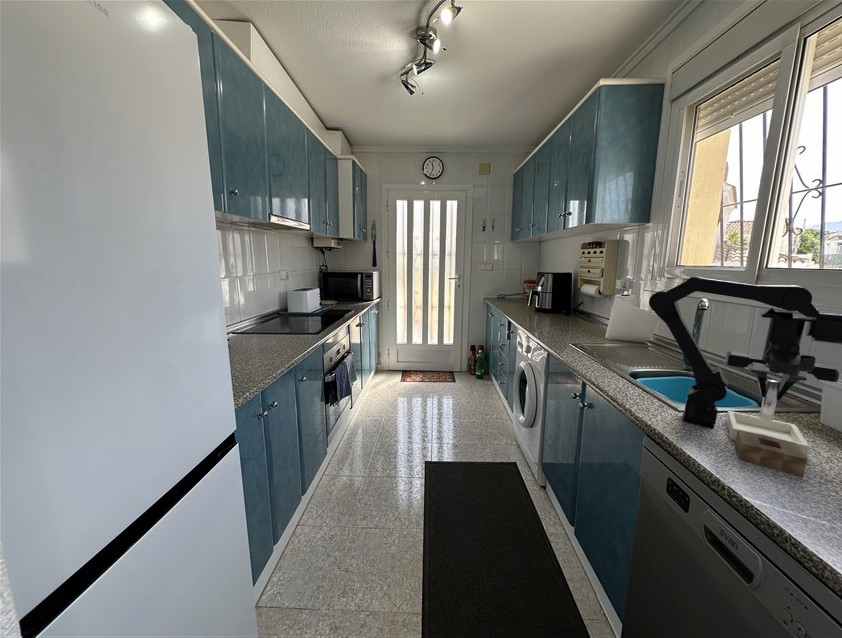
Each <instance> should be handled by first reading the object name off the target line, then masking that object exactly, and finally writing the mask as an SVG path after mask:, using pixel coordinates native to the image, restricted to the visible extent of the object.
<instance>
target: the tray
mask: <svg viewBox="0 0 842 638" xmlns="http://www.w3.org/2000/svg"><path fill="white" fill-rule="evenodd" d="M725 421H726V425H727V429H728V433H729V437H730V440H732V441H736V436H737V431H738V429H739V430H743V431H747V432H752V433H756V434H760V435H764V436H769V437H773V438H777V439H782V440H786V441H790V442H794V443H798V445H799V447H800V448H801V450H802V452H803V453H804V455H805V457H806V458H807V459H808V455H809V454H808V453H809V450H810V445H809V443H808V442H807V440H806V439H805V437H804V436H803V434H802V433H801V431H800V430H799V428H798V427H797V425H796V424H793V423H788V422H786V421H779V420H775V419H773V420H772V421H767V420H763V419H761V418H759V416H756V415H751V414H747V413H742V412H737V411H731V410H727V415H726V420H725Z"/></svg>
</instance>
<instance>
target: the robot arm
mask: <svg viewBox="0 0 842 638" xmlns="http://www.w3.org/2000/svg"><path fill="white" fill-rule="evenodd" d="M695 292H699V293H705V294H712V295H718V296H724V297H729V298H730V297H731V298H738V299H745V300H750V301H754V302H759V303H762V304H765V305H768V306H771V307H769V308H768V309H767V310H765V311H763V312H760V314H759V315H760V316H761V318H763V319H764V318H766V319H767V318H768V319H770V320H769V325H768V328H767V329H768V330H767V335H766V339H765V343H764V347H763V351H762V356H761V358H756V357H750V355H749V354H748V353H747V352H739V351H732V350H731V351H730V350H729V351H728V352H726V355H725V362H726V363H725V364H726V365H727V366H729V367H735V368H740V369H741V368H742V369H745V368H746V367H747V368H748V370H749V372H750V373H754V374H755V377H756V380H757V384H758V388H759V392H760V397H761V398H763V397H764V396H765V391H766V383H767V377H768V372H771V373H773V374H777V375H778V374H781V375H782V376H781V380H780V382H781V384H780V389H779V393H778V398H777V401H780V400H781V399H782V398H784V396H785V394H787V392H788V391H789V390H790V388H792V387H793V386H794V385H795V384H797V383H798V382H800V381H802V382H806V381H808V378H807V377H806V376H807V375H812V376H813V377H814V378H816V379H817V380H819V381H825V382H831V383H838V382H839V377H840V371H838V369H836V368H835V367H834V366H832V365H831V364H826V363H820V362H819V363H818V362H816V356H815V355H814V356H813V355H806V354H800V353H801V352H800V349H801V348H800V347H801V341H802V337H803V333H804V328H806V331H805V336H806V337H811V341H812V342H819V343H827V344H835V345H842V314H836V313H826V312H825V313H824V312H820V309H817V308H816V307H815V305H813V303H812V301H813V295H812V292H810V291H809V289H807V288H805V287H802V286H800V285H797V284H796V285H793V284H790V285H789V284H773V285H771V284H749V283H742V282H736V281H729V280H728V281H727V280H719V279H714V278H713V279H712V278H705V277H701V276H698V275H697V276H696V275H695V276H691V277H689V278H687V280H685V281H684V282H682V283H680V284H678V285H676V286H673V287H672V288H671V289H669V290H667V289H666V290H663V289H662V290H659V291H657V292H656V291H655V292H654V293H653V294H652V295H651V296H650V297H649V300H648V304H649V307H650V308H651V310H652V311H653V312H654V313H655V315H656V316H657V317H658V318H660V320H662V321H663V322H664V324H665V325H666V327H667V328H668V329H669V331H670V333H671V335H672V336H673V338H674V339H675V342H676V343H677V346H678V347H679V349H680V350H681V352H682V355H683V356H684V357H685V359H686V361H687V362H688V364H689V366H690V367H691V371H692V373H693V378H694V381H695V384H693V385H691V386H690V387H689V389H688V392H687V395H686V397H685V404H684V410H683V413H682V423H683V422H684V423H687V424H692V425H695V426H701V427H704V428H708V429H714V425H716V423H717V416H718V411H719V410H718V408H717V404H716V402H719V401H722V400H724V399H725V398H726V396H727V393H728V387H729V379H728V378H727V377H726V376H725V375H724V373H723V370H722V368H721V366H718V367H714V366H712V365H711V364H710V363H709V362H708V360H707V358H706V356H705V355H704V352H703V351H702V350H701V347H700V346H699V345H698V343H697V341H696V339H695V338H694V335H693V334H692V332H691V331H690V329H689V327H688V326H687V324H686V322H685V320H684V319H683V317H682V313H681V308H680V306H679V305H680V304H679V302H678V301H679V300H682V299H684V298H686V297H688V296H689V295H691V294H693V293H695ZM773 307H774V308H778V309H781V310H784V311H777V310H775V309H774V308H773ZM794 312H798V313H799V314H801V315H803V316H804V317H803V316H802V317H800V316H794ZM806 322H807V325H806ZM805 325H806V327H805ZM766 369H768V372H767V370H766Z"/></svg>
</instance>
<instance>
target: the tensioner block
mask: <svg viewBox="0 0 842 638" xmlns="http://www.w3.org/2000/svg"><path fill="white" fill-rule="evenodd" d="M734 441H735V440H734ZM734 446H735V449H736V454H737V457H738V460H740V461H743V462H747V463H751V464H755V465H758V466H762V467H766V468H770V469H773V470H776V471H780V472H785V473H788V474H791V475H796V476H799V477H802V478H803V477H804V475H805V471H806V466H807V462H808V457H807V458H806V457H805V455H804V453H803V452H802V450H801V448H800V447H799V445H798V443H794V442H790V441H786V440H782V439H777V438H773V437H769V436H764V435H760V434H756V433H752V432H747V431H743V430H739V429H738V431H737V436H736V441H735V442H734Z"/></svg>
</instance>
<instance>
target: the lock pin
mask: <svg viewBox="0 0 842 638" xmlns="http://www.w3.org/2000/svg"><path fill="white" fill-rule="evenodd" d="M780 384H781V381H779V380H775V379H766V391H765V396H764V397H762V402H761V406H760V411H759V414H758V415H759V416H758V417H759V418H761V419H763V420H767V421H772V420H774V414H775V411H776V405H777V401H778V400H777V398H778V393H779V389H780Z"/></svg>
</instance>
